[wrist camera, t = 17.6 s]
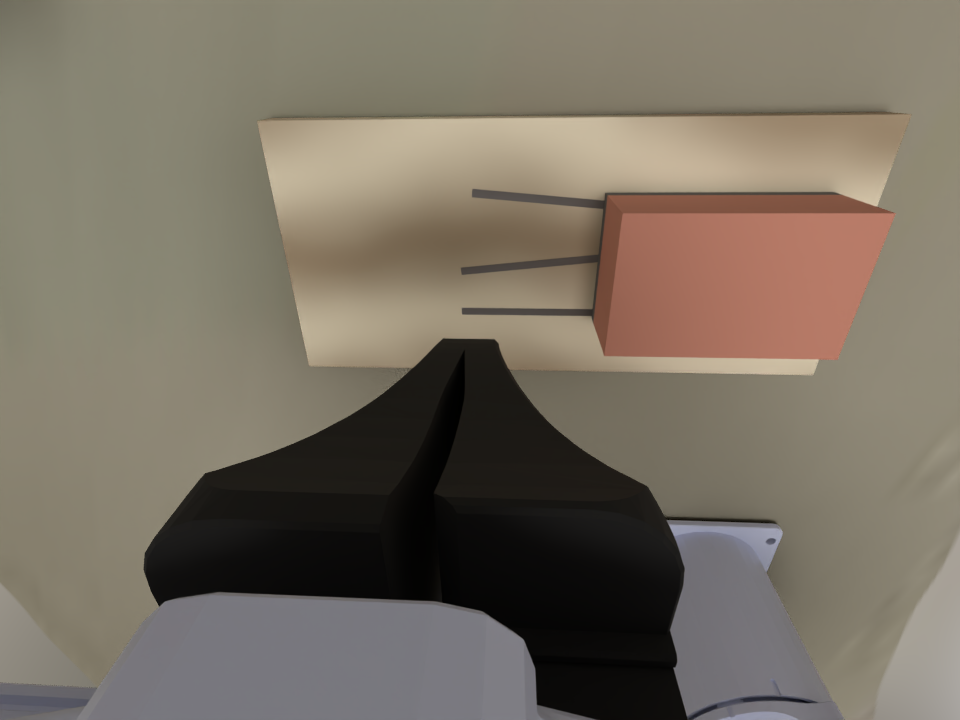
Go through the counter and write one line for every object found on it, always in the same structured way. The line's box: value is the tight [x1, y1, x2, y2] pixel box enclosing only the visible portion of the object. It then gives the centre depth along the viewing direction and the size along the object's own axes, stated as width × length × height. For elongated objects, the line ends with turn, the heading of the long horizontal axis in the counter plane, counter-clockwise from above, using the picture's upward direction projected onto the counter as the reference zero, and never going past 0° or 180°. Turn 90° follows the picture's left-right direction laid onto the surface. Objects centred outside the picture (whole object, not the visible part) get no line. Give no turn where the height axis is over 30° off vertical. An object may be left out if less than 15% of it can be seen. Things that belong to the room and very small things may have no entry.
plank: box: [257, 112, 912, 375], centre depth 20 cm, size 10×22×1 cm, turn 91°
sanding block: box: [592, 192, 896, 360], centre depth 17 cm, size 5×8×3 cm, turn 91°
